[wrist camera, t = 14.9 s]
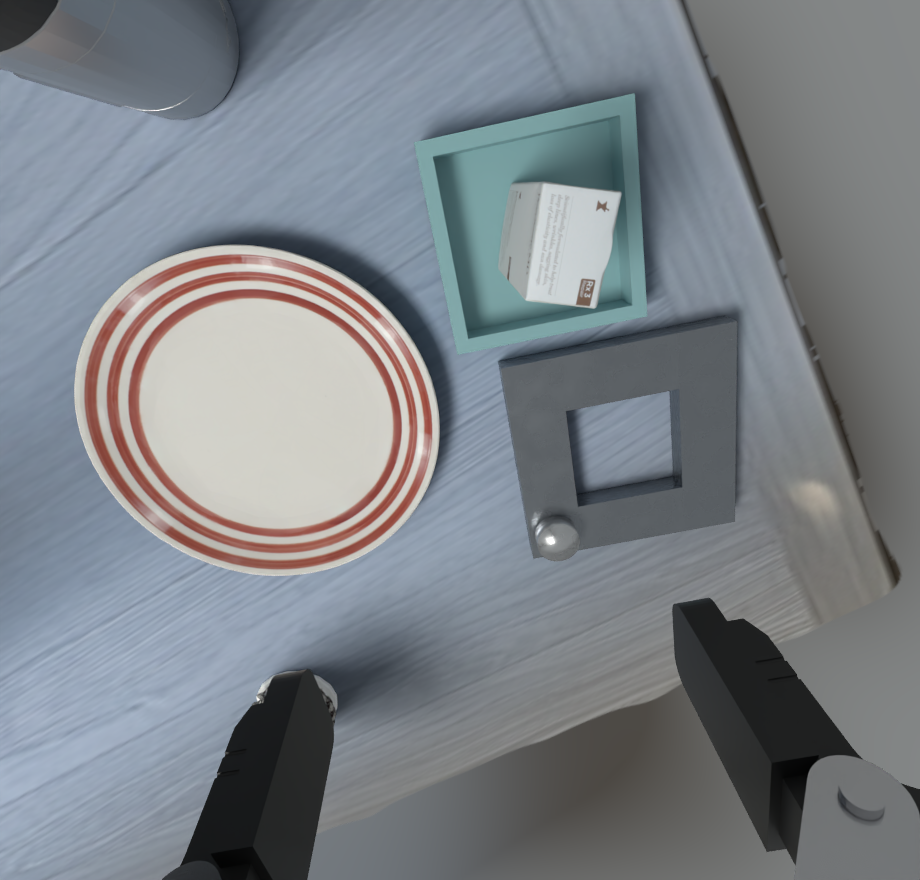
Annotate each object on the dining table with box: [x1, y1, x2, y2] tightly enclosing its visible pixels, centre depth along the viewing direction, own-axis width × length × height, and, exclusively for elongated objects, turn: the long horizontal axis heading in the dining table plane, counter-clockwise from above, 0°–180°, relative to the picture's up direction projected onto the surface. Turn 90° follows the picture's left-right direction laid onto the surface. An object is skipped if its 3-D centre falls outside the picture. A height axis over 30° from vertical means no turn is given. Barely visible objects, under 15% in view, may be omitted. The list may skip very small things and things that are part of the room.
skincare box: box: [498, 181, 622, 308], centre depth 33 cm, size 6×4×12 cm
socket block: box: [498, 316, 737, 561], centre depth 45 cm, size 18×18×4 cm
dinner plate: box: [74, 245, 440, 576], centre depth 43 cm, size 28×27×3 cm
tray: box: [414, 93, 647, 355], centre depth 38 cm, size 14×14×3 cm
